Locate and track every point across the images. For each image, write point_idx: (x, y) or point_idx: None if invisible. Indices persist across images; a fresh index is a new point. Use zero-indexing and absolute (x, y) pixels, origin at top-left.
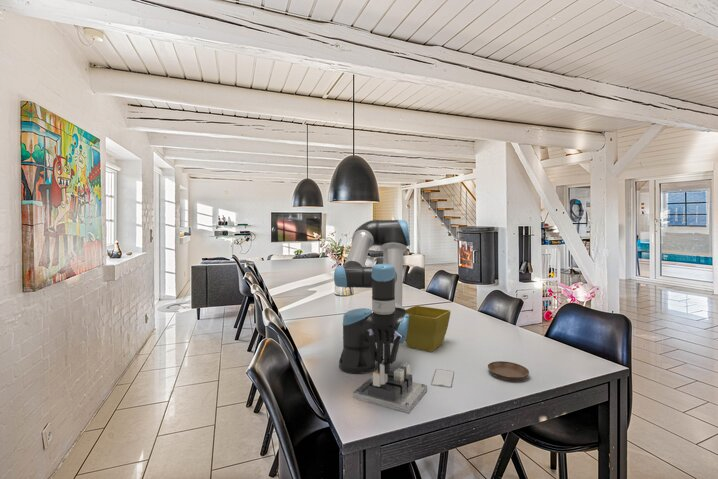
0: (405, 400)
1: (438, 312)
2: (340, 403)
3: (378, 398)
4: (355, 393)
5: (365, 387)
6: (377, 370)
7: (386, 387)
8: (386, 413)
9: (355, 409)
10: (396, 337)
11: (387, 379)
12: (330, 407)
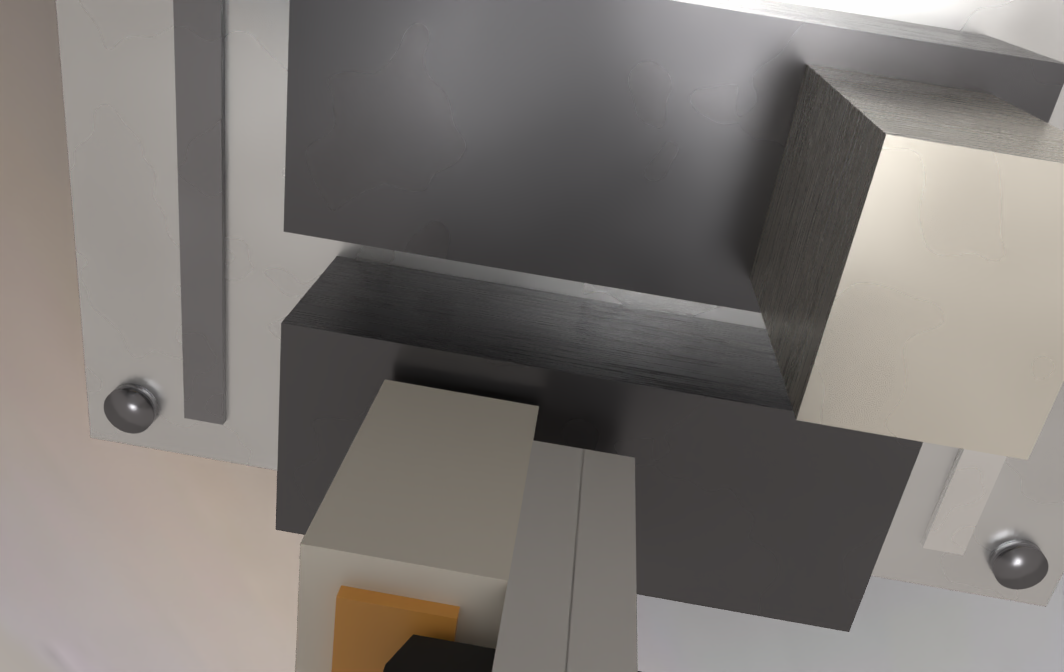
0: (985, 469)
1: None
2: (75, 548)
3: None
4: (137, 441)
5: (180, 242)
6: (324, 564)
7: (640, 508)
8: (705, 609)
9: None
10: None
11: (634, 479)
12: (33, 647)
